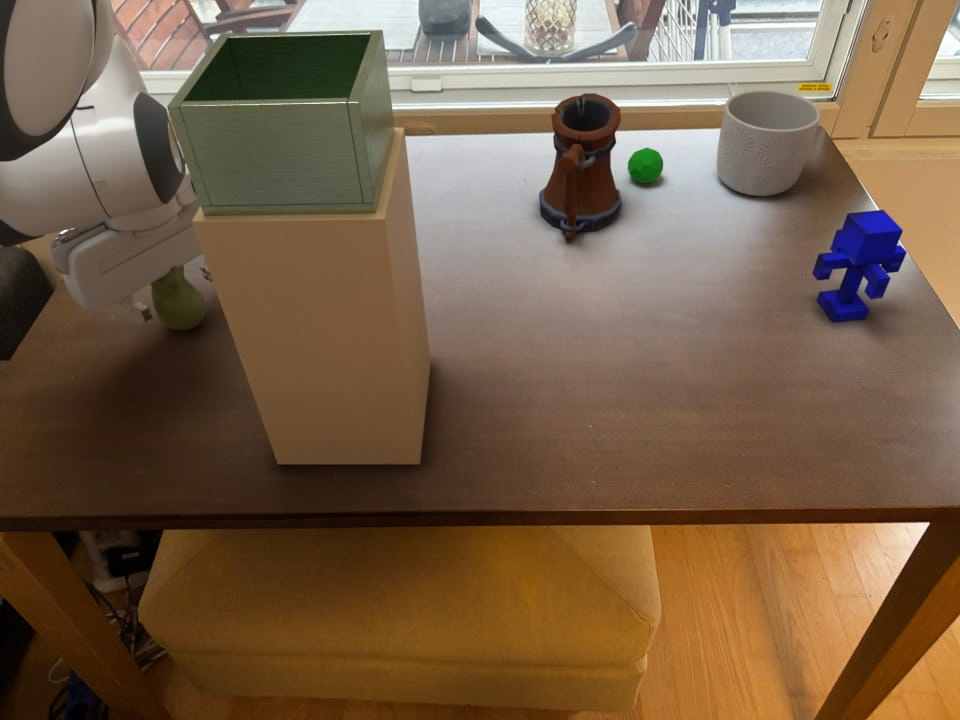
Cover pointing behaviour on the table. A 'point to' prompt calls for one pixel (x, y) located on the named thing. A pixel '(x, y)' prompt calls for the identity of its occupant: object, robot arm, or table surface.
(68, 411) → the table surface
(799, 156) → the planter
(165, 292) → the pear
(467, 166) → the table surface
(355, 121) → the bin
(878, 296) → the figurine
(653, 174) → the polyhedron
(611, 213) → the mug
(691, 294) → the table surface
